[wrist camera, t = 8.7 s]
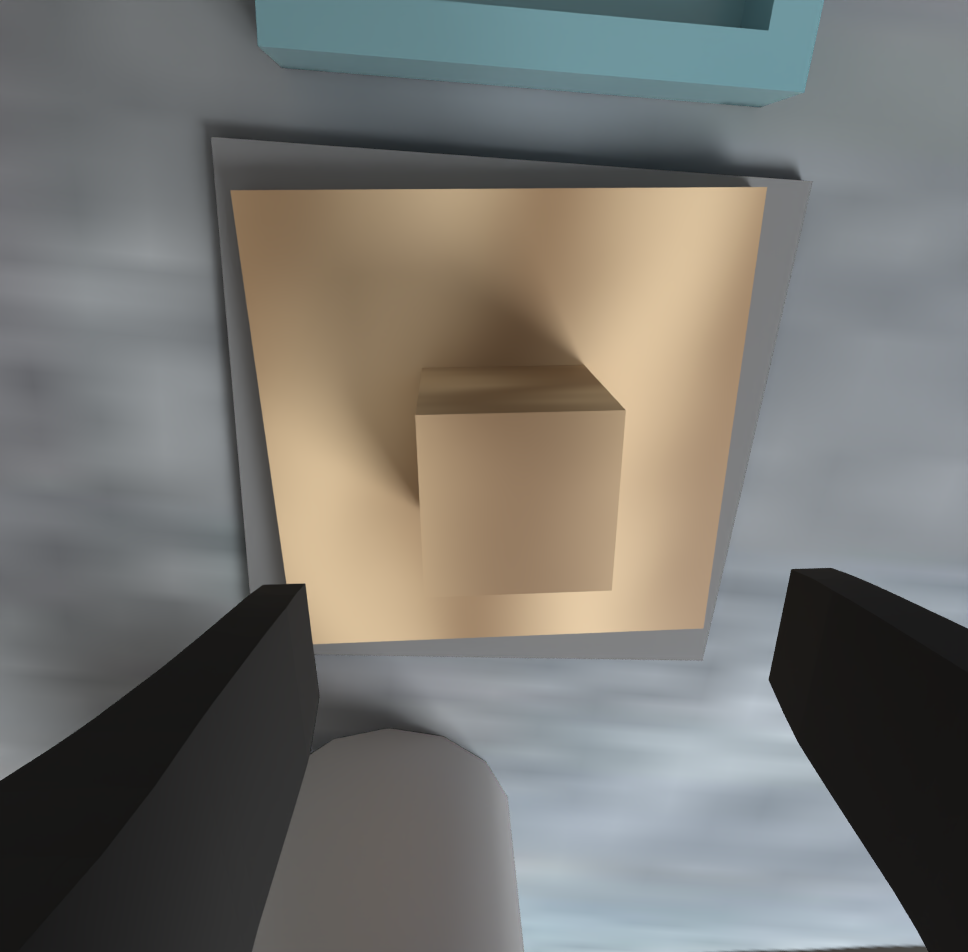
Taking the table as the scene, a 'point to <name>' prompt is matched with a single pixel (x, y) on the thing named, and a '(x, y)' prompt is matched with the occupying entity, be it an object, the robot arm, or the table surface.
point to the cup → (395, 853)
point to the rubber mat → (390, 169)
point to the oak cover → (498, 401)
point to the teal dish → (558, 44)
